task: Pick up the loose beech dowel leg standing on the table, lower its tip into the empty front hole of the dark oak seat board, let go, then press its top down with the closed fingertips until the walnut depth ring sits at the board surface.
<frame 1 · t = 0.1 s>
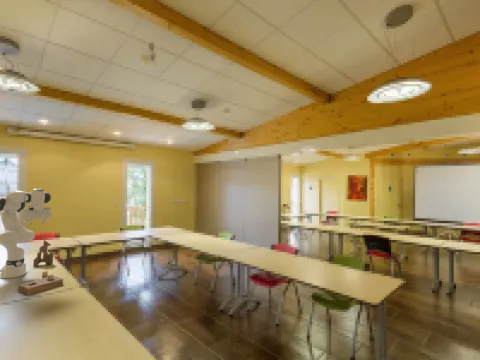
hand: (36, 224, 210), 48 cm above the table, fingers open, 8 cm apart
seat board: (41, 287, 197), on the table
wooden toy: (43, 265, 251), on the table
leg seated: (49, 285, 202), resting in seat board
leg: (44, 281, 209), on the table
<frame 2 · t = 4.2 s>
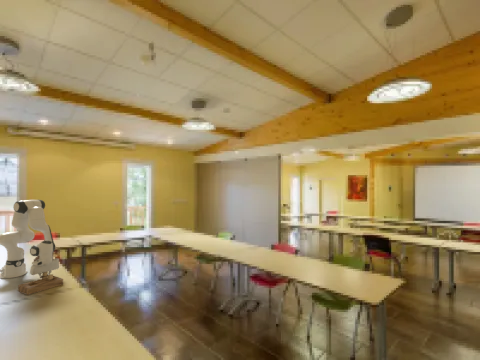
hand: (44, 277, 209), 4 cm above the table, fingers closed on leg, 4 cm apart
leg: (44, 281, 209), on the table, touching gripper
everything else where it was.
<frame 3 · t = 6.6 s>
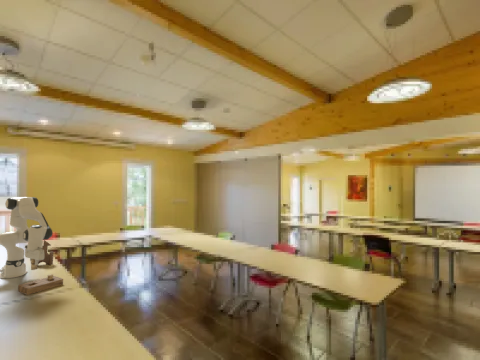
hand: (34, 264, 192), 20 cm above the table, fingers closed on leg, 4 cm apart
leg: (33, 269, 192), point 16 cm above the table, touching gripper
everything else where it was.
when the fingers open (6 cm above the table, at t = 9.0 s): leg drops 2 cm, resting in seat board.
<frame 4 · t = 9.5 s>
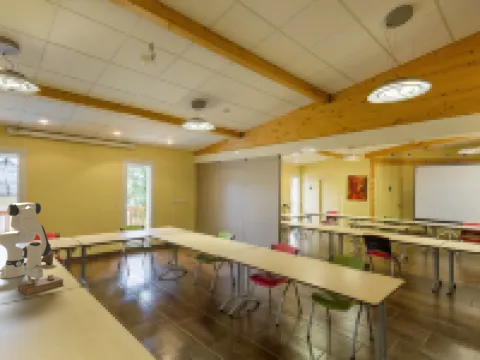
hand: (32, 282, 191), 6 cm above the table, fingers open, 8 cm apart
leg: (32, 290, 191), resting in seat board
everything else where it was.
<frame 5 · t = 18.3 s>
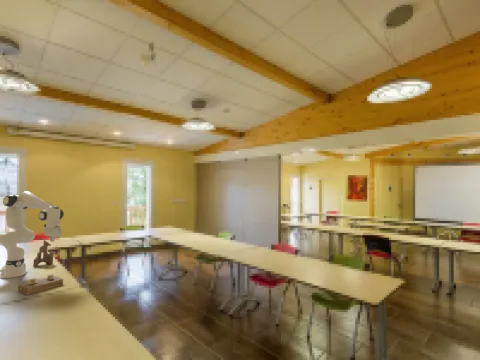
hand: (52, 241, 212), 33 cm above the table, fingers closed
nothing on the table moved.
at the end: leg 0.1 cm from the target spot on the seat board, point 0.1 cm above the seat board's base; leg tilted 3°; the gripper is holding nothing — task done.
